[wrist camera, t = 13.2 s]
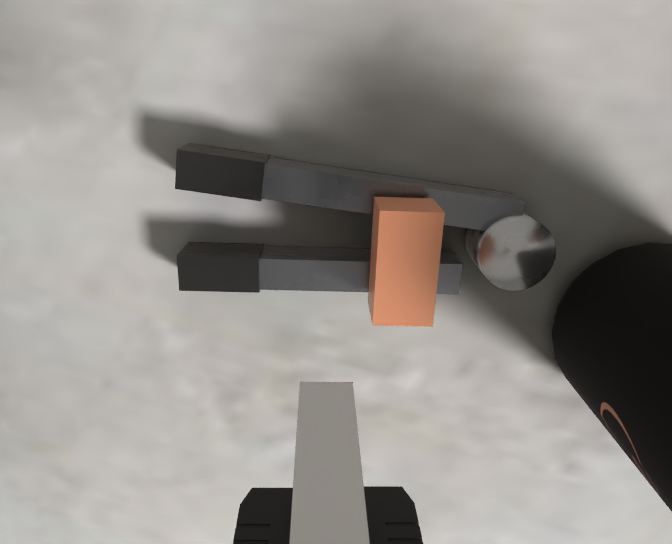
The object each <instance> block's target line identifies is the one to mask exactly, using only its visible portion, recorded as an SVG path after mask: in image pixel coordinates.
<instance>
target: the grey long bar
mask: <svg viewBox="0 0 672 544" xmlns="http://www.w3.org/2000/svg"><path fill="white" fill-rule="evenodd" d="M175 189H181V190H188V191H194V192H201V193H208V194H215V195H222V196H229V197H236V198H243V199H250V200H257V201H261V200H262V199H269V200H276V201H283V202H290V203H297V204H304V205H311V206H318V207H325V208H331V209H338V210H345V211H352V212H359V213H366V214H373V209H374V197H402V198H433V199H434V201H435V202H436V203H437V204H438V205H439V206H440V207H441V209H442V210H443V211H444V212H445V217H444V225H449V226H456V227H463V228H468V230H467V233H466V241H465V243H466V249H467V252H468V255H469V256H470V258H471V259H472V260H473V262H474V263H475V264H476V266H477V267H478V268H479V269H480V271H481V272H482V273H483V274H484V276H485V277H486V278H487V279H488V281H489V282H491V283H492V284H493V285H495V286H496V287H498V288H501V289H504V290H509V291H518V290H523V289H527V288H529V287H532V286H534V285H535V284H537V283H538V282H540V281H541V280H542V279H543V278H544V277H545V276H546V275H547V274H548V272H549V271H550V269H551V267H552V266H553V263H554V260H555V255H556V246H555V242H554V239H553V237H552V235H551V233H550V232H549V230H548V229H547V228H546V227H544V226H543V225H542V224H540V223H539V222H537V221H536V220H534V219H533V218H532V217H530V216H529V215H527V214H526V213H524V210H525V207H526V202H524V201H523V200H521V199H520V198H518V197H516V196H515V195H513V194H512V193H505V192H499V191H492V190H485V189H479V188H472V187H465V186H459V185H452V184H445V183H439V182H432V181H425V180H419V179H412V178H405V177H399V176H392V175H386V174H379V173H372V172H366V171H359V170H352V169H346V168H339V167H332V166H326V165H319V164H312V163H306V162H299V161H292V160H286V159H279V158H272V157H270V155H265V154H258V153H252V152H245V151H238V150H232V149H225V148H218V147H212V146H205V145H198V144H192V143H189V144H187V145H185V146H183V147H181V148H179V149H177V161H176V182H175Z"/></svg>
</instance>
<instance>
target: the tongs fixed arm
mask: <svg viewBox="0 0 672 544" xmlns="http://www.w3.org/2000/svg"><path fill="white" fill-rule="evenodd" d="M370 259H371V249H366V248H329V247H293V246H264V244H242V243H206V242H188V243H187V245H186V246H185V247H184V248H183V249H182V251H181V252H180V253H179V254H178V255H177V264H178V278H179V290H180V291H220V292H260V289H262V290H302V291H343V292H369V276H370ZM462 266H463V264H462V263H461V261H460V260H459V258H458V257H457V256H456V254H455V253H454V252H453V251H441V254H440V263H439V272H438V282H437V291H436V294H459V291H460V283H461V275H462Z"/></svg>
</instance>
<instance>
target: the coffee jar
mask: <svg viewBox="0 0 672 544" xmlns="http://www.w3.org/2000/svg"><path fill="white" fill-rule="evenodd" d="M552 337H553V346H554V354H555V359H556V361H557V363H558V364H559V366H560V368H561V370H562V372H563V374H564V375H565V377H566V379H567V380H568V381H569V382H570V384H571V385H572V386H573V388H574V389H575V390H576V391H577V393H578V394H579V395H580V396H581V398H582V399H583V400H584V401H585V403H586V404H587V405H588V406H589V408H590V409H591V410H592V411H593V413H594V414H595V415H596V417H597V418H598V419H599V420H600V422H601V423H602V424H603V425H604V427H605V428H606V429H607V430H608V432H609V433H610V434H611V435H612V437H613V438H614V439H615V441H616V442H617V443H618V444H619V446H620V447H621V448H622V449H623V451H624V452H625V453H626V454H627V456H628V457H629V458H630V459H631V461H632V462H633V463H634V464H635V466H636V467H637V468H638V470H639V471H640V472H641V473H642V475H643V476H644V477H645V478H646V480H647V481H648V482H649V483H650V485H651V486H652V487H653V488H654V490H655V491H656V492H657V493H658V495H659V496H660V497H661V499H662V500H663V501H664V502H665V504H666V505H667V506H668V507H669V509H670V510H671V511H672V244H662V243H646V244H642V245H637V246H633V247H629V248H624V249H620V250H617V251H615V252H613V253H612V254H610V255H608V256H606V257H604V258H602V259H601V260H599V261H597V262H595V263H593V264H592V265H590V266H589V267H588V268H587V269H586V270H585V271H584V272H583V273H582V274H581V275H580V276H578V277H577V278H576V279H575V280H574V281H573V282H572V283H571V285H570V287H569V288H568V290H567V292H566V294H565V295H564V297H563V299H562V300H561V302H560V304H559V306H558V308H557V312H556V316H555V321H554V325H553V329H552Z"/></svg>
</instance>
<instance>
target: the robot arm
mask: <svg viewBox="0 0 672 544" xmlns="http://www.w3.org/2000/svg"><path fill="white" fill-rule="evenodd" d="M233 544H423V542H422V536H421V531H420V527H419V524H418V518H417V513H416V509H415V504H414V502H413V501H412V500H411V498H410V497H409V495H408V494H407V493H406V491H405V490H404V489H403V487H364V485H363V476H362V467H361V457H360V448H359V438H358V429H357V420H356V410H355V401H354V391H353V382H300V389H299V404H298V420H297V435H296V451H295V466H294V481H293V488H252V489H251V490H250V492H249V493H248V494H247V496H246V497H245V498H244V500H243V501H242V503H241V504H240V508H239V513H238V519H237V525H236V529H235V535H234V542H233Z"/></svg>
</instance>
